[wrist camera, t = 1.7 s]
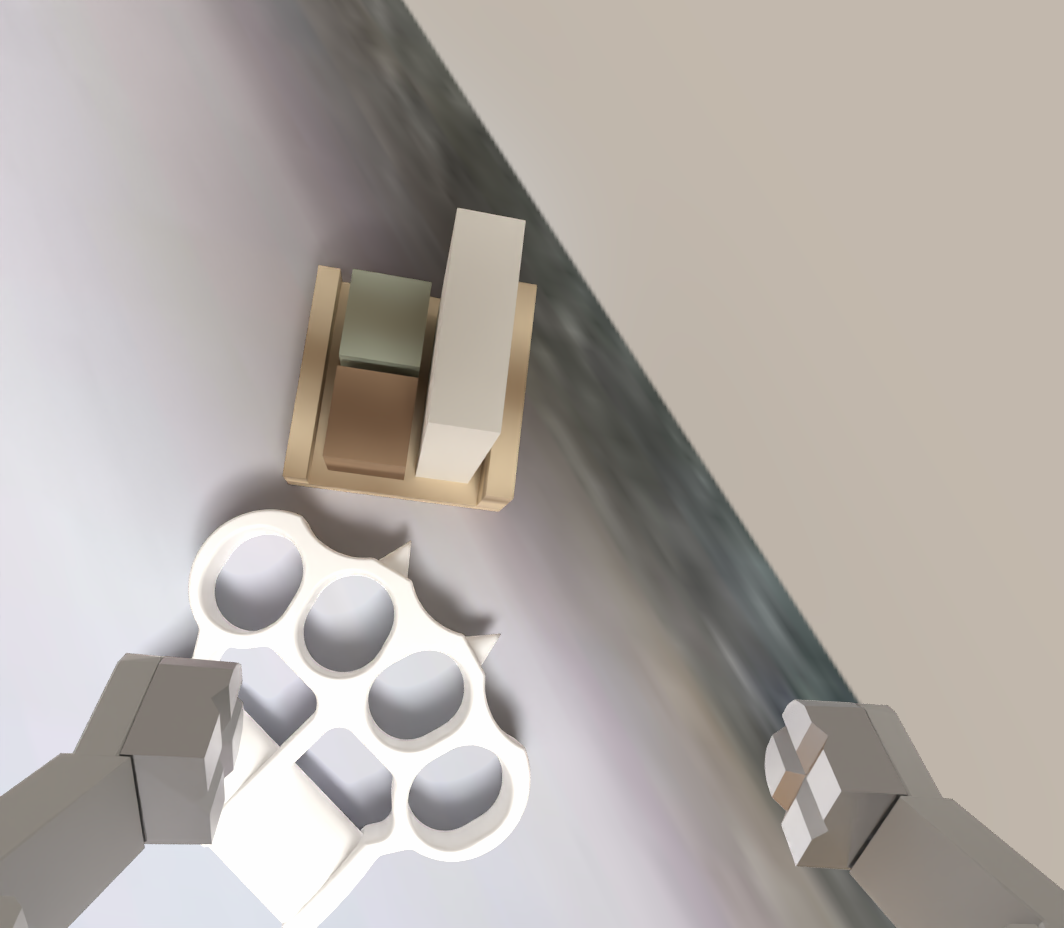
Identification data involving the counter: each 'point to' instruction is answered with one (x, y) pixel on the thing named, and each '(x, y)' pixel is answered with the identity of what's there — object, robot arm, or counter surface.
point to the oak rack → (315, 395)
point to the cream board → (471, 346)
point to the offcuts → (377, 375)
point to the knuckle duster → (342, 701)
